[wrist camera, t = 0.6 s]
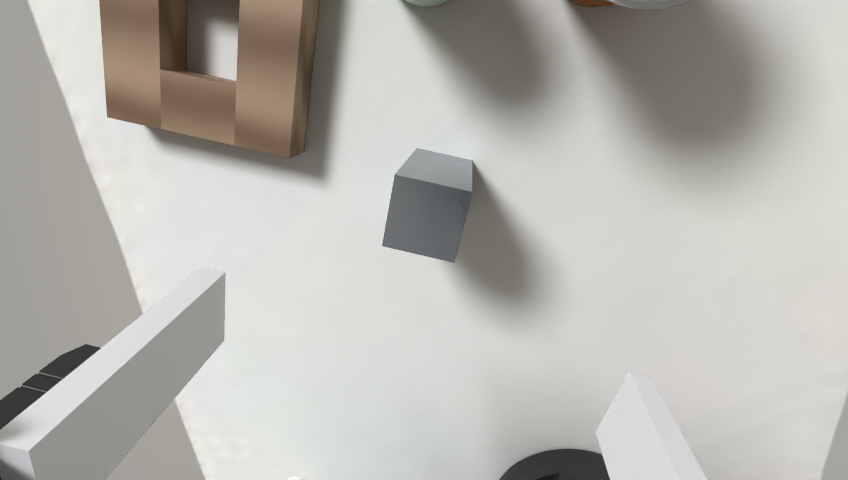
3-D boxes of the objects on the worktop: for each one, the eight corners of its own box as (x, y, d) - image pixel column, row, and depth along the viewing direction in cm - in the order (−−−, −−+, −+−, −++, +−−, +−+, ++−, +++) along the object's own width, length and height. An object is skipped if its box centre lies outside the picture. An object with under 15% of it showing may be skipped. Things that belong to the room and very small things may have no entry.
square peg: (459, 213, 35) (454, 262, 25) (406, 201, 35) (382, 245, 26) (472, 160, 33) (472, 191, 24) (416, 148, 33) (394, 174, 24)
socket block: (304, 151, 34) (289, 157, 32) (136, 114, 35) (107, 117, 32) (324, -51, 29) (308, -65, 26) (128, -93, 30) (92, -111, 27)
